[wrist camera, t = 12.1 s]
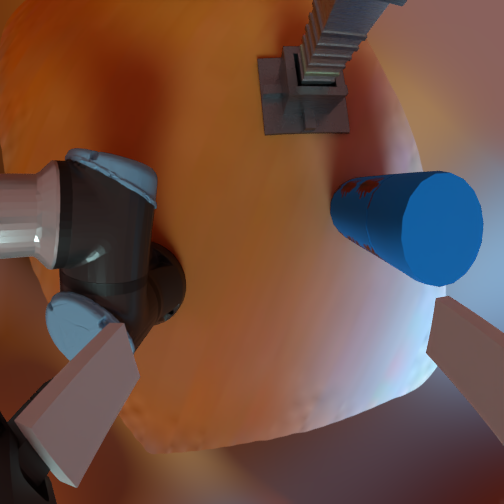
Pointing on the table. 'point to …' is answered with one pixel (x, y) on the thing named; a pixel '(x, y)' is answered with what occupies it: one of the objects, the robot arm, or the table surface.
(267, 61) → the stand base
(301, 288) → the table surface
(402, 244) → the thermos
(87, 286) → the robot arm
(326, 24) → the column
